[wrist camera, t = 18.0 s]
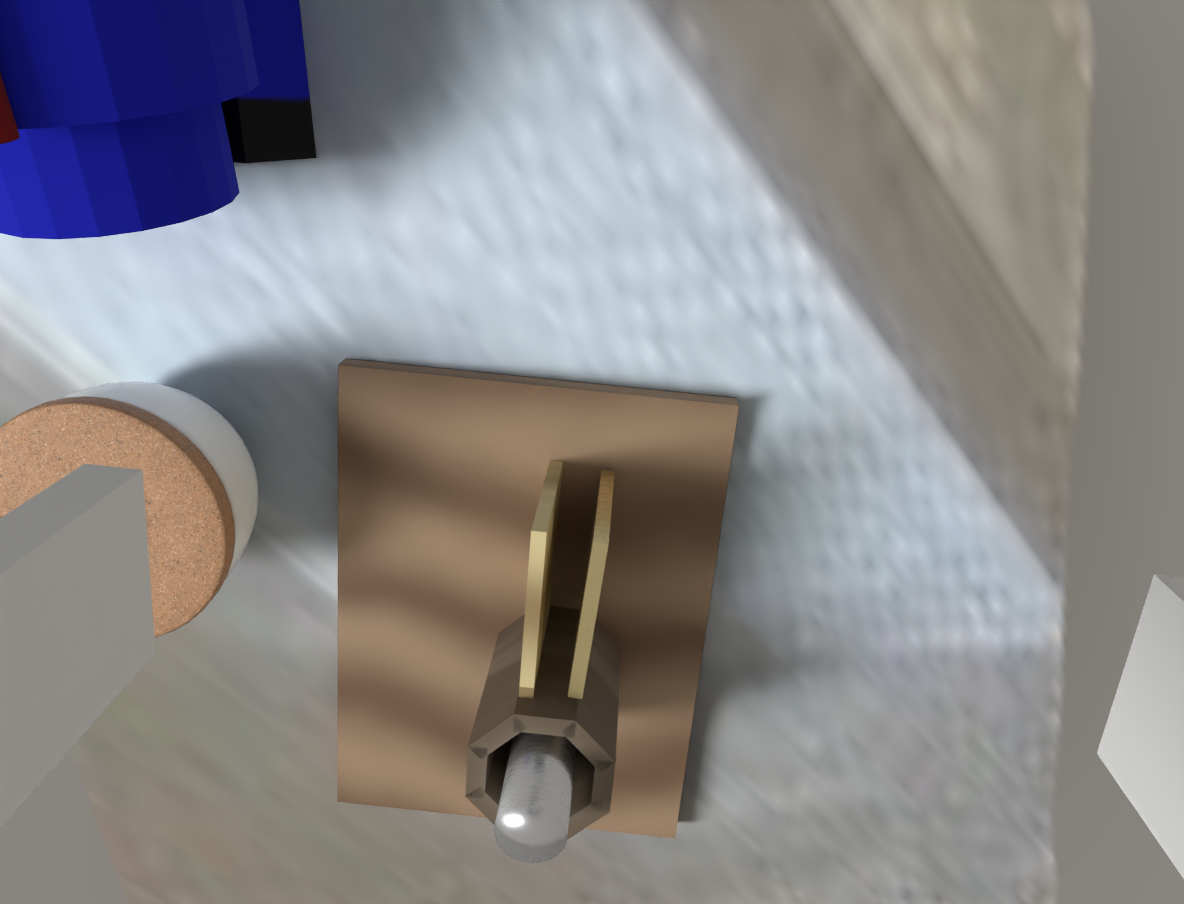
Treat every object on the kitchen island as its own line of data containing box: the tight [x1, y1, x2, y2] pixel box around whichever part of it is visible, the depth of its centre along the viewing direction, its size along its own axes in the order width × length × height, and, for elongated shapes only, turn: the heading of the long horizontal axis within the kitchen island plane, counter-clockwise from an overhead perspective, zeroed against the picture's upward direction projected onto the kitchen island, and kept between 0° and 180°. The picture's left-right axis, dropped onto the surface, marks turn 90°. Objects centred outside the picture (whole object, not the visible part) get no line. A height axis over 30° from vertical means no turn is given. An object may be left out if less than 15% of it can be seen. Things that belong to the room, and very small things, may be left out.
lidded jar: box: [0, 381, 258, 637], centre depth 43 cm, size 11×11×9 cm
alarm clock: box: [0, 0, 316, 239], centre depth 34 cm, size 12×12×15 cm
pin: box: [494, 732, 577, 863], centre depth 43 cm, size 3×3×12 cm
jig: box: [338, 359, 739, 839], centre depth 44 cm, size 24×18×10 cm
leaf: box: [568, 469, 615, 699], centre depth 42 cm, size 7×1×8 cm, turn 172°
